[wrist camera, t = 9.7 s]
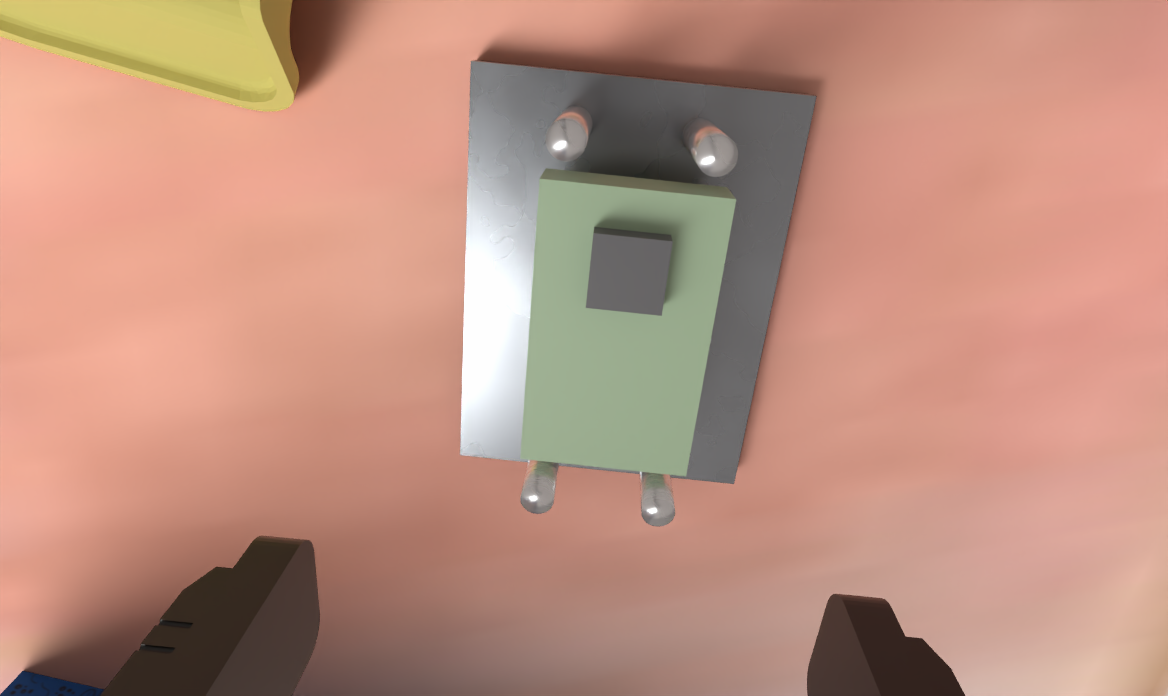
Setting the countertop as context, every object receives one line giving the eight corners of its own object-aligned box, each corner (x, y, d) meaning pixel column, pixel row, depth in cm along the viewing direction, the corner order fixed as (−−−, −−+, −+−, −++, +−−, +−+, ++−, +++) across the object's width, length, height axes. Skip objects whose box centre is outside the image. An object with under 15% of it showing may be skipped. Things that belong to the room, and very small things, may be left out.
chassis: (476, 60, 25) (436, 64, 20) (808, 94, 25) (862, 108, 20) (464, 442, 32) (432, 527, 26) (730, 471, 31) (754, 561, 26)
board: (545, 168, 23) (536, 183, 21) (726, 187, 23) (740, 204, 21) (526, 430, 27) (517, 471, 25) (681, 447, 27) (688, 489, 24)
